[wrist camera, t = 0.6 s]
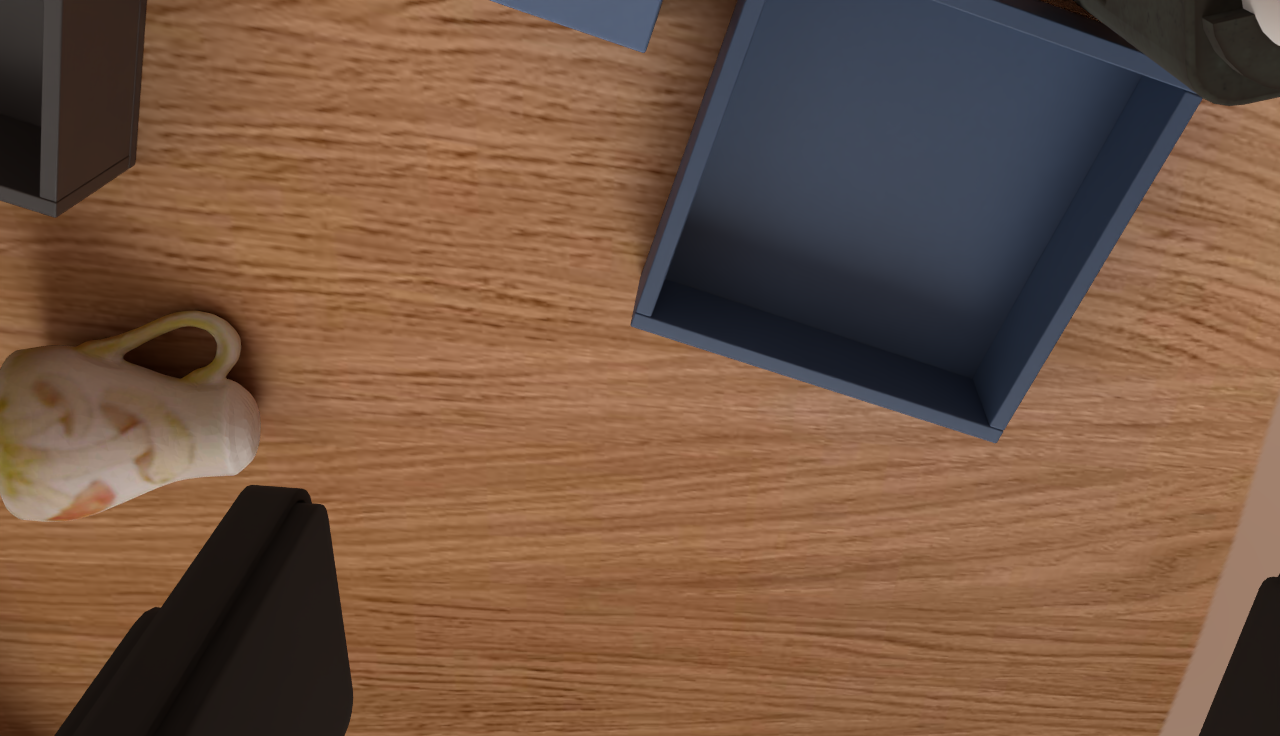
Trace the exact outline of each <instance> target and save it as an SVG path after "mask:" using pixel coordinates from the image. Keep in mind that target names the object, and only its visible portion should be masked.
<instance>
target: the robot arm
mask: <svg viewBox="0 0 1280 736" xmlns="http://www.w3.org/2000/svg"><path fill="white" fill-rule="evenodd" d="M352 706H353V688H352V681H351V674H350V667H349V660H348V653H347V646H346V639H345V632H344V625H343V618H342V610H341V603H340V596H339V589H338V582H337V575H336V568H335V561H334V554H333V547H332V540H331V533H330V526H329V519H328V514H327V510H326V508H325V506H324V505H321V504H312V502H311V498H310V495H309V494H308V492H307V491H306V490H304V489H300V488H287V487H274V486H260V485H250V486H247V487H246V488H245V489H244V490H243V491H242V492H241V493H240V495H239V496H238V497H237V499H236V500H235V502H234V503H233V505H232V506H231V508H230V509H229V510H228V512H227V513H226V515H225V516H224V518H223V519H222V520H221V522H220V523H219V525H218V526H217V528H216V529H215V531H214V532H213V533H212V535H211V536H210V538H209V539H208V541H207V542H206V544H205V545H204V546H203V548H202V549H201V551H200V552H199V554H198V555H197V557H196V558H195V559H194V561H193V562H192V564H191V565H190V567H189V568H188V570H187V571H186V572H185V574H184V575H183V577H182V578H181V580H180V581H179V583H178V584H177V585H176V587H175V588H174V590H173V591H172V593H171V594H170V596H169V597H168V598H167V600H166V601H165V603H164V604H163V606H162V607H161V608H159V607H154V608H152V609H150V610H148V611H146V612H144V613H143V615H142V616H141V617H140V618H139V619H138V620H137V621H136V622H135V623H134V625H133V626H132V627H131V629H130V630H129V632H128V633H127V634H126V636H125V637H124V639H123V640H122V641H121V643H120V644H119V646H118V647H117V648H116V650H115V651H114V653H113V654H112V655H111V657H110V658H109V660H108V661H107V662H106V664H105V665H104V667H103V668H102V669H101V671H100V672H99V674H98V675H97V677H96V678H95V679H94V681H93V682H92V684H91V685H90V686H89V688H88V689H87V691H86V692H85V693H84V695H83V696H82V698H81V699H80V700H79V702H78V703H77V705H76V706H75V707H74V709H73V710H72V712H71V713H70V714H69V716H68V717H67V719H66V720H65V721H64V723H63V724H62V726H61V727H60V729H59V730H58V731H57V733H56V734H55V736H344V735H345V733H346V731H347V728H348V725H349V722H350V717H351V713H352ZM1199 736H1280V574H1279V576H1278V577H1269V578H1267V579H1266V580H1265V581H1263V583H1262V585H1261V586H1260V588H1259V591H1258V593H1257V596H1256V598H1255V600H1254V603H1253V605H1252V608H1251V610H1250V613H1249V615H1248V617H1247V620H1246V622H1245V625H1244V627H1243V629H1242V632H1241V634H1240V637H1239V639H1238V642H1237V644H1236V647H1235V649H1234V652H1233V654H1232V656H1231V659H1230V661H1229V664H1228V666H1227V669H1226V671H1225V673H1224V676H1223V678H1222V681H1221V683H1220V685H1219V688H1218V690H1217V693H1216V695H1215V698H1214V700H1213V702H1212V705H1211V707H1210V710H1209V712H1208V715H1207V717H1206V720H1205V722H1204V724H1203V727H1202V729H1201V732H1200V734H1199Z"/></svg>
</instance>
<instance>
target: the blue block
mask: <svg viewBox="0 0 1280 736" xmlns="http://www.w3.org/2000/svg"><path fill="white" fill-rule="evenodd" d="M490 1H493V2H496V3H499V4H502V5H505V6H508V7H511V8H514V9H516V10H519V11H522V12H525V13H528V14H531V15H534V16H537V17H540V18H543V19H546V20H549V21H552V22H554V23H557V24H560V25H563V26H566V27H569V28H572V29H575V30H578V31H581V32H584V33H587V34H590V35H592V36H595V37H598V38H601V39H604V40H607V41H610V42H613V43H616V44H619V45H622V46H625V47H628V48H630V49H633V50H636V51H639V52H642V53H644V52H645V51H646V49H647V46H648V43H649V40H650V38H651V35H652V32H653V29H654V26H655V23H656V20H657V17H658V14H659V11H660V8H661V4H662V1H663V0H490Z"/></svg>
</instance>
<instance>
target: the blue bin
mask: <svg viewBox="0 0 1280 736" xmlns="http://www.w3.org/2000/svg"><path fill="white" fill-rule="evenodd" d="M1201 100H1202V97H1200V96H1199V95H1198V94H1196V93H1195V92H1194V91H1192V90H1191V89H1190V88H1189V87H1187V86H1186V85H1185V84H1183V83H1182V82H1181V81H1179V80H1178V79H1177V78H1175V77H1174V76H1173V75H1171V74H1170V73H1169V72H1167V71H1166V70H1165V69H1163V68H1162V67H1161V66H1159V65H1158V64H1157V63H1155V62H1154V61H1153V60H1151V59H1150V58H1149V57H1147V56H1146V55H1145V54H1143V53H1142V52H1141V51H1139V50H1138V49H1137V48H1135V47H1134V46H1133V45H1131V44H1130V43H1129V42H1127V41H1126V40H1125V39H1123V38H1122V37H1121V36H1119V35H1118V34H1117V33H1115V32H1114V31H1113V30H1112V29H1110V28H1109V27H1108V26H1106V25H1105V24H1104V23H1101V22H1098V21H1095V20H1093V19H1090V18H1087V17H1084V16H1081V15H1079V14H1076V13H1073V12H1070V11H1067V10H1065V9H1062V8H1059V7H1056V6H1053V5H1051V4H1048V3H1045V2H1042V1H1039V0H737V3H736V6H735V9H734V12H733V15H732V17H731V20H730V23H729V26H728V29H727V32H726V35H725V37H724V40H723V43H722V46H721V49H720V52H719V55H718V57H717V60H716V63H715V66H714V69H713V72H712V74H711V77H710V80H709V83H708V86H707V89H706V92H705V94H704V97H703V100H702V103H701V106H700V109H699V112H698V114H697V117H696V120H695V123H694V126H693V129H692V132H691V134H690V137H689V140H688V143H687V146H686V149H685V152H684V154H683V157H682V160H681V163H680V166H679V169H678V172H677V174H676V177H675V180H674V183H673V186H672V189H671V192H670V194H669V197H668V200H667V203H666V206H665V209H664V212H663V214H662V217H661V220H660V223H659V226H658V229H657V232H656V234H655V237H654V240H653V243H652V246H651V249H650V252H649V254H648V257H647V260H646V263H645V266H644V269H643V272H642V274H641V277H640V281H639V286H638V291H637V296H636V301H635V306H634V311H633V315H632V320H631V326H632V327H635V328H638V329H641V330H644V331H647V332H650V333H653V334H657V335H660V336H663V337H666V338H669V339H672V340H675V341H678V342H681V343H685V344H688V345H691V346H694V347H697V348H700V349H703V350H706V351H710V352H713V353H716V354H719V355H722V356H725V357H728V358H731V359H734V360H738V361H741V362H744V363H747V364H750V365H753V366H756V367H759V368H763V369H766V370H769V371H772V372H775V373H778V374H781V375H784V376H787V377H791V378H794V379H797V380H800V381H803V382H806V383H809V384H812V385H815V386H819V387H822V388H825V389H828V390H831V391H834V392H837V393H840V394H844V395H847V396H850V397H853V398H856V399H859V400H862V401H865V402H868V403H872V404H875V405H878V406H881V407H884V408H887V409H890V410H893V411H897V412H900V413H903V414H906V415H909V416H912V417H915V418H918V419H921V420H925V421H928V422H931V423H934V424H937V425H940V426H943V427H946V428H950V429H953V430H956V431H959V432H962V433H965V434H968V435H971V436H974V437H978V438H981V439H984V440H987V441H990V442H993V443H997V441H998V440H999V438H1000V436H1001V435H1002V433H1003V430H1004V429H1005V428H1006V426H1007V424H1008V423H1009V421H1010V419H1011V418H1012V416H1013V414H1014V413H1015V411H1016V409H1017V408H1018V406H1019V404H1020V403H1021V401H1022V399H1023V398H1024V396H1025V394H1026V393H1027V391H1028V389H1029V388H1030V386H1031V384H1032V383H1033V381H1034V379H1035V378H1036V376H1037V374H1038V373H1039V371H1040V369H1041V368H1042V366H1043V364H1044V363H1045V361H1046V359H1047V358H1048V356H1049V354H1050V353H1051V351H1052V349H1053V348H1054V346H1055V344H1056V343H1057V341H1058V339H1059V338H1060V336H1061V334H1062V333H1063V331H1064V329H1065V328H1066V326H1067V324H1068V323H1069V321H1070V319H1071V318H1072V316H1073V314H1074V313H1075V311H1076V309H1077V308H1078V306H1079V304H1080V302H1081V301H1082V299H1083V297H1084V296H1085V294H1086V292H1087V291H1088V289H1089V287H1090V286H1091V284H1092V282H1093V281H1094V279H1095V277H1096V276H1097V274H1098V272H1099V271H1100V269H1101V267H1102V266H1103V264H1104V262H1105V261H1106V259H1107V257H1108V256H1109V254H1110V252H1111V251H1112V249H1113V247H1114V246H1115V244H1116V242H1117V241H1118V239H1119V237H1120V236H1121V234H1122V232H1123V231H1124V229H1125V227H1126V226H1127V224H1128V222H1129V221H1130V219H1131V217H1132V216H1133V214H1134V212H1135V211H1136V209H1137V207H1138V206H1139V204H1140V202H1141V201H1142V199H1143V197H1144V196H1145V194H1146V192H1147V191H1148V189H1149V187H1150V186H1151V184H1152V182H1153V181H1154V179H1155V177H1156V176H1157V174H1158V172H1159V171H1160V169H1161V167H1162V166H1163V164H1164V162H1165V161H1166V159H1167V157H1168V156H1169V154H1170V152H1171V151H1172V149H1173V147H1174V146H1175V144H1176V142H1177V140H1178V139H1179V137H1180V135H1181V134H1182V132H1183V130H1184V129H1185V127H1186V125H1187V124H1188V122H1189V120H1190V119H1191V117H1192V115H1193V114H1194V112H1195V110H1196V109H1197V107H1198V105H1199V104H1200V102H1201Z"/></svg>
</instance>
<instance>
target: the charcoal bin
mask: <svg viewBox="0 0 1280 736" xmlns="http://www.w3.org/2000/svg"><path fill="white" fill-rule="evenodd" d="M146 2H147V0H0V201H4V202H7V203H10V204H13V205H16V206H20V207H23V208H26V209H29V210H32V211H35V212H39V213H42V214H45V215H48V216H51V217H55V218H56V217H58V216H59V215H61V214H62V213H64V212H65V211H67V210H68V209H70V208H71V207H73V206H74V205H76V204H77V203H79V202H80V201H82V200H83V199H85V198H86V197H88V196H89V195H90V194H92V193H93V192H95V191H96V190H98V189H99V188H101V187H102V186H104V185H105V184H107V183H108V182H110V181H111V180H113V179H114V178H116V177H117V176H119V175H120V174H122V173H123V172H125V171H126V170H128V169H129V168H131V167H132V166H134V165H135V159H136V145H137V131H138V116H139V102H140V88H141V73H142V59H143V45H144V30H145V16H146Z"/></svg>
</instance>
